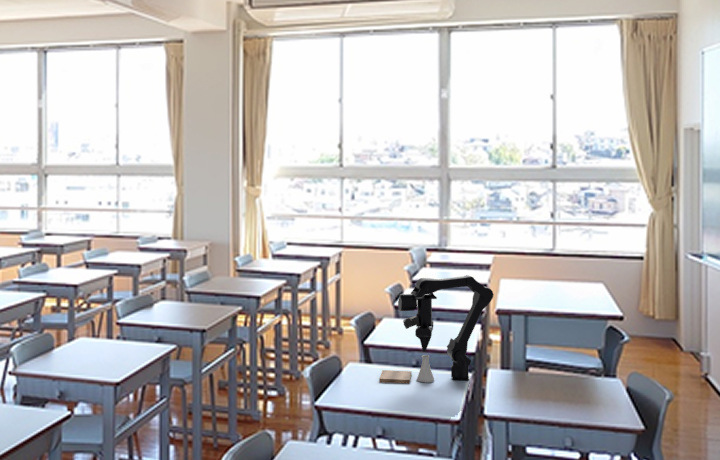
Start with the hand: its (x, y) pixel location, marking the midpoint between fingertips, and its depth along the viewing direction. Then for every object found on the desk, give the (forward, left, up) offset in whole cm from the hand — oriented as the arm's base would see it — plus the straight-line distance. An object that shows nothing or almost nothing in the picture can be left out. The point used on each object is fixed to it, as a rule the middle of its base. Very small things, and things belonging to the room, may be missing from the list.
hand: (424, 348), depth 260 cm
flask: (0, 0, -13) cm, 13 cm away
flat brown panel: (+12, -1, -13) cm, 18 cm away
